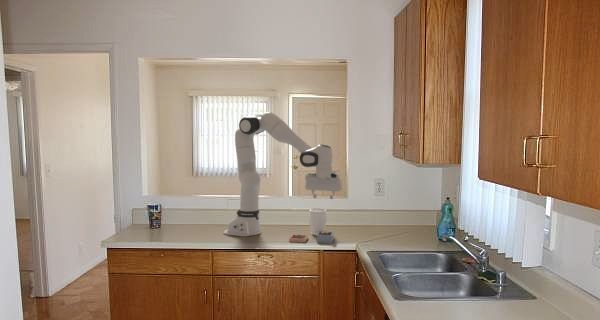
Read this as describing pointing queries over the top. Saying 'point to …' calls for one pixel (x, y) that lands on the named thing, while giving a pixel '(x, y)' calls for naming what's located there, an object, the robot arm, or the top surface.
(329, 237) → the grey open box
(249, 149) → the robot arm
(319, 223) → the jar
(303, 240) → the dish
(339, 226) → the top surface
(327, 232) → the block
